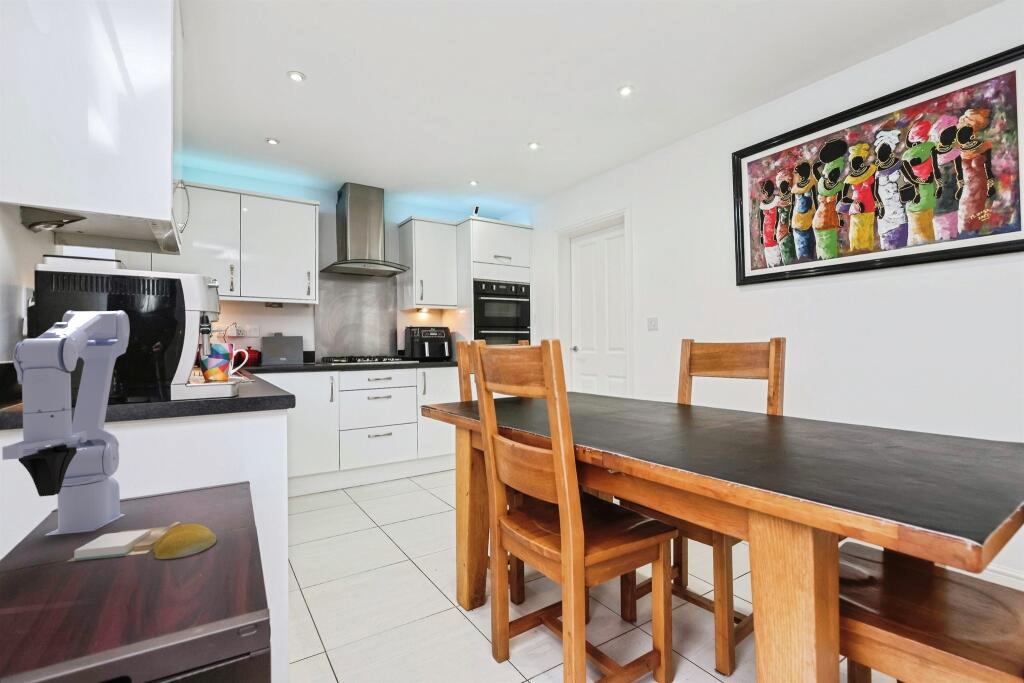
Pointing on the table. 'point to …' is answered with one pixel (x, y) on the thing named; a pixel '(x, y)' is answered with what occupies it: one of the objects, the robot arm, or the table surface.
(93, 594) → the table surface
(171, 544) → the bread roll
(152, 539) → the spatula
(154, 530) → the board
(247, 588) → the table surface
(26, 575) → the table surface
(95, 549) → the tile
